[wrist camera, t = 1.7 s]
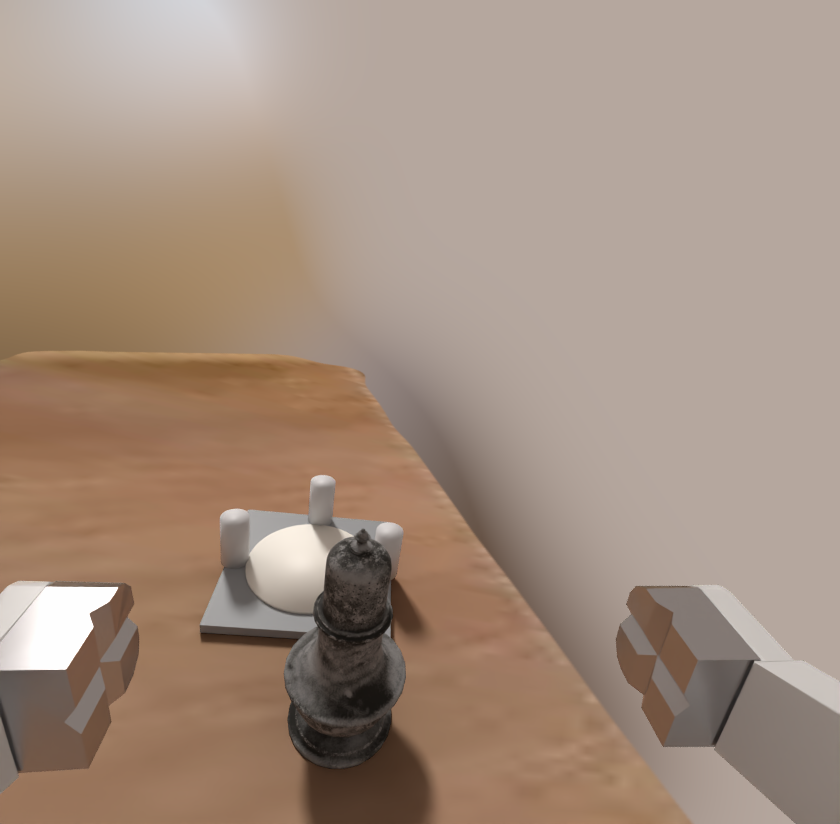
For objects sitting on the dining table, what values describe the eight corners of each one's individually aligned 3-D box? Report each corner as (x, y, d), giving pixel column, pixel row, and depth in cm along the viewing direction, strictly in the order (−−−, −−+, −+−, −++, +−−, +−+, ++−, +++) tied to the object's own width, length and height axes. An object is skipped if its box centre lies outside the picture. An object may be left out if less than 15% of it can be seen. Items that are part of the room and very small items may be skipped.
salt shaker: (317, 650, 30) (333, 475, 25) (412, 689, 29) (448, 513, 23) (257, 744, 25) (261, 548, 20) (369, 797, 23) (404, 601, 18)
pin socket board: (192, 631, 30) (189, 577, 28) (244, 512, 40) (244, 467, 38) (395, 645, 31) (405, 594, 29) (395, 525, 41) (402, 482, 40)
